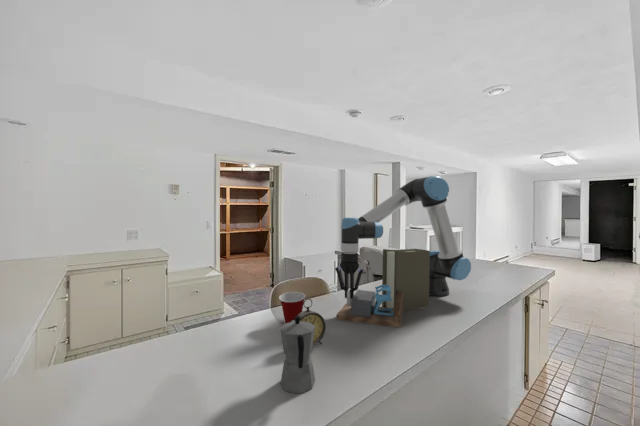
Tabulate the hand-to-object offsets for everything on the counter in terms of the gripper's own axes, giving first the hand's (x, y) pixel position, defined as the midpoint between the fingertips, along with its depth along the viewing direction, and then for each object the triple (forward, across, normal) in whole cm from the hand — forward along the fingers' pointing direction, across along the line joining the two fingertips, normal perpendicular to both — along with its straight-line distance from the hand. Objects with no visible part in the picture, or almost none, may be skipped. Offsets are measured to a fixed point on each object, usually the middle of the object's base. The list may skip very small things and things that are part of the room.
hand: (349, 305), depth 131 cm
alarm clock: (+4, +5, +34) cm, 35 cm away
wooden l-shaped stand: (+4, -10, 0) cm, 10 cm away
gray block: (+2, -6, 0) cm, 7 cm away
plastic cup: (+4, +18, +20) cm, 27 cm away
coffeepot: (+4, -1, +56) cm, 57 cm away
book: (+4, -23, -18) cm, 30 cm away
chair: (+2, -15, 0) cm, 15 cm away
